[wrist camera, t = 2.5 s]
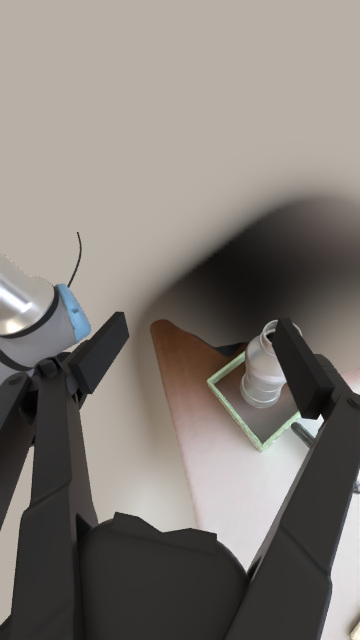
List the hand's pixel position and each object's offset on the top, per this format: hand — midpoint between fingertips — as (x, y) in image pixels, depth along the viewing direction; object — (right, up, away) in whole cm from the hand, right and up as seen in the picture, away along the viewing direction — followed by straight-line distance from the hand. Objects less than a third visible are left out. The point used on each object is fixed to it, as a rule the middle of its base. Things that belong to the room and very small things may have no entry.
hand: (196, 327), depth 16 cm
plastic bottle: (+13, -13, +19) cm, 26 cm away
